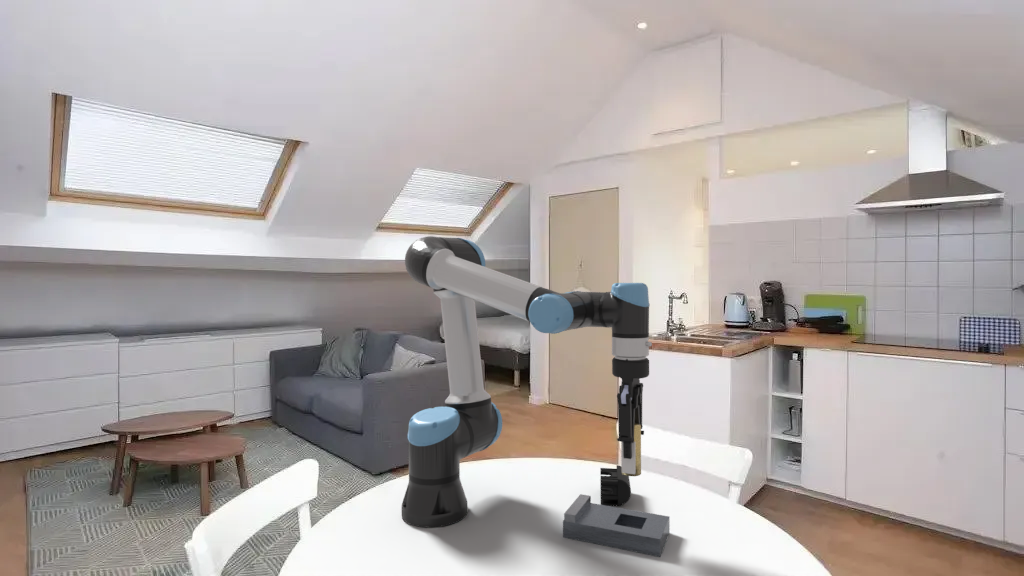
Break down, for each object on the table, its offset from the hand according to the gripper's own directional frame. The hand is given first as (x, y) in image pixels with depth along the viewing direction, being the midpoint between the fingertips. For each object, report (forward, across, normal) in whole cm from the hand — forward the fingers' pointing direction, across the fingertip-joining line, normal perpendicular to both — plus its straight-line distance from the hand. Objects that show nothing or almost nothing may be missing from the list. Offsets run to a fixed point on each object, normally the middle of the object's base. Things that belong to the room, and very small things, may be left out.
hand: (631, 469), depth 115 cm
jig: (+14, 0, +3) cm, 15 cm away
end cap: (+15, +18, +8) cm, 25 cm away
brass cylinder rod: (+1, 0, 0) cm, 1 cm away
